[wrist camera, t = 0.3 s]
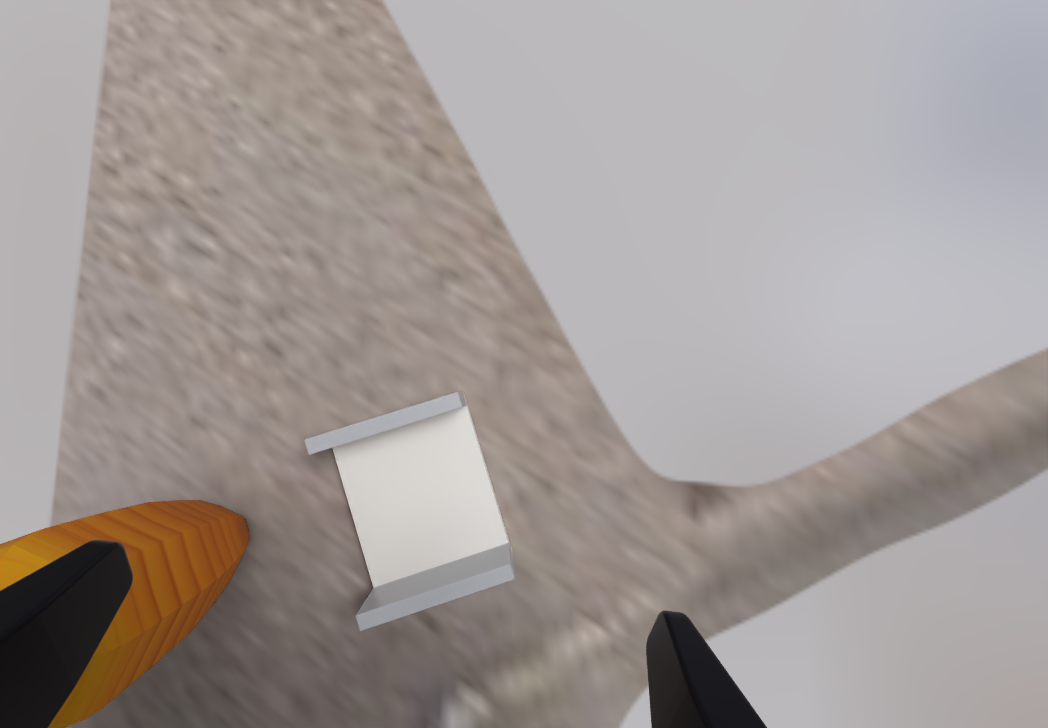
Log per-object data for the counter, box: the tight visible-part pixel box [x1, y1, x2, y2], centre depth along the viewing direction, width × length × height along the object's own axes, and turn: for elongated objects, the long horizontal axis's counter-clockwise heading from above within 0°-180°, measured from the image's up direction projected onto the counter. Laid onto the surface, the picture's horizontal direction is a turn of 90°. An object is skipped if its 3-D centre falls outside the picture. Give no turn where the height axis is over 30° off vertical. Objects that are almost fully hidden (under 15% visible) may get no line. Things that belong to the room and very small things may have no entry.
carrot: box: [0, 500, 249, 728], centre depth 15 cm, size 5×5×15 cm
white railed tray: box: [304, 392, 515, 631], centre depth 21 cm, size 7×6×4 cm
